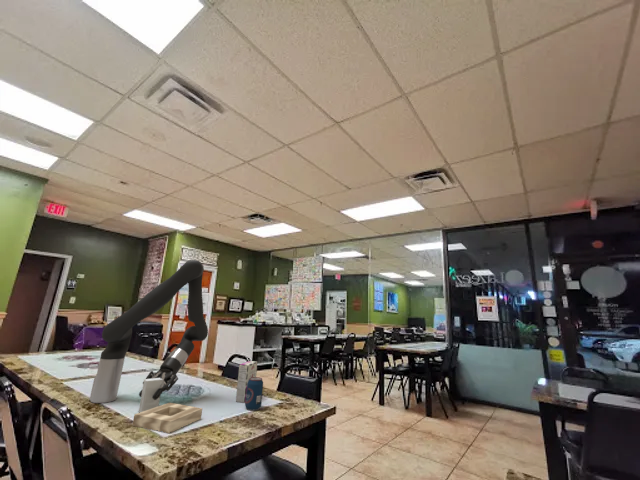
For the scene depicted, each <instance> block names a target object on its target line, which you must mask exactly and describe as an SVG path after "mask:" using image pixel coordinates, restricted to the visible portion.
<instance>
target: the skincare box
mask: <svg viewBox="0 0 640 480" xmlns="http://www.w3.org/2000/svg"><path fill="white" fill-rule="evenodd" d="M162 381H163V379H161V378H152V379H146V378H145V379H143V382H144V383H143V382H142V389H141V390H142V395H141V397H140V401H139V408H138V413H139V412H143V411H146V410H149V409H152V408H155V407H158V406H160V401H161V400H160V398H161V395H160V396H159V398H158V399H157V400H154V399H153V398H152V396H153V395H154V394H155V392H156V391H157V390H158V388H160V385H161V384H162Z"/></svg>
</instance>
